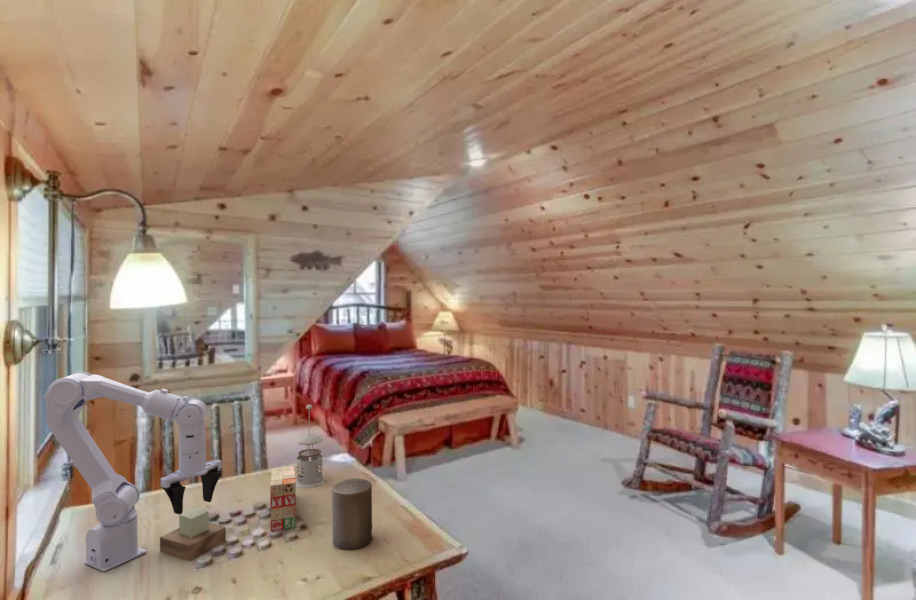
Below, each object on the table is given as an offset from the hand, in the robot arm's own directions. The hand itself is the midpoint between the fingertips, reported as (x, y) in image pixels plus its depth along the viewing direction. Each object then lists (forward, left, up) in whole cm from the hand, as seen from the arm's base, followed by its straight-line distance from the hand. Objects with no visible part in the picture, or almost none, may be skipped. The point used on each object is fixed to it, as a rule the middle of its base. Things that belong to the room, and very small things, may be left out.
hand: (193, 507), depth 123 cm
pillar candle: (+20, -32, -10) cm, 39 cm away
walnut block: (0, 0, -10) cm, 10 cm away
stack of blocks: (+23, -5, -10) cm, 26 cm away
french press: (+44, +5, -10) cm, 45 cm away
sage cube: (0, 0, -6) cm, 6 cm away
